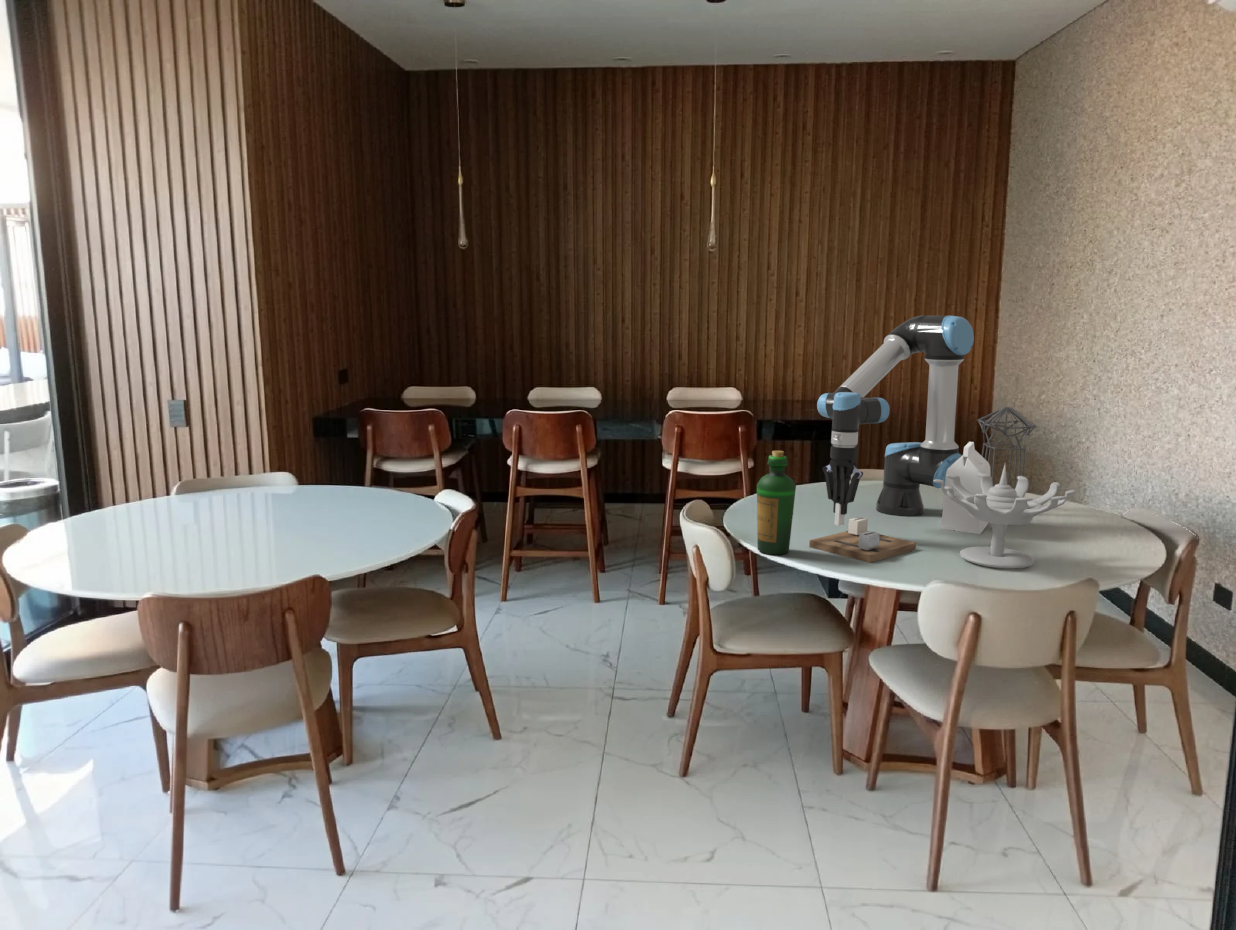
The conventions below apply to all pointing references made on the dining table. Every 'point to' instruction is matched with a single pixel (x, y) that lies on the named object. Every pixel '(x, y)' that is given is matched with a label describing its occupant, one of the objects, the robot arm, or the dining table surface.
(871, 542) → the fader
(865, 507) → the dining table surface
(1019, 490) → the candelabra
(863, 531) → the fader
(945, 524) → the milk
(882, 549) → the wooden board
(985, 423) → the geometric lantern
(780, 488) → the bottle
